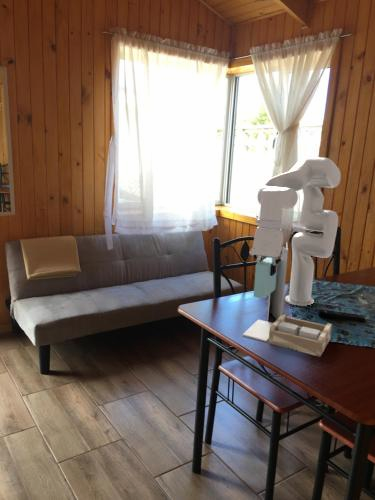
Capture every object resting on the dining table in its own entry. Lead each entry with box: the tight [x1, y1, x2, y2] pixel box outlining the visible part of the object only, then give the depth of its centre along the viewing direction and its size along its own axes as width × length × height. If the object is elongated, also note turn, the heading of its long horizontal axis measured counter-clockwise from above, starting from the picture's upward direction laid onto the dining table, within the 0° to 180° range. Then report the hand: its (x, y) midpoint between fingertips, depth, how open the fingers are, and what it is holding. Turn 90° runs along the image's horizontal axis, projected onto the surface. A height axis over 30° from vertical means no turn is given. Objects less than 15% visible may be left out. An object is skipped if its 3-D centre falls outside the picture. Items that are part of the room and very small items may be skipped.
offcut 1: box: [278, 322, 298, 336], centre depth 147 cm, size 4×6×6 cm, turn 60°
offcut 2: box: [299, 326, 320, 340], centre depth 143 cm, size 4×6×6 cm, turn 60°
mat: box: [242, 319, 274, 343], centre depth 156 cm, size 16×9×1 cm, turn 150°
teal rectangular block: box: [253, 257, 277, 300], centre depth 151 cm, size 4×12×12 cm, turn 150°
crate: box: [267, 312, 333, 358], centre depth 148 cm, size 16×18×6 cm
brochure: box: [266, 241, 289, 322], centre depth 166 cm, size 14×6×30 cm, turn 168°
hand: (266, 273), depth 151 cm, fingers closed on teal rectangular block, 4 cm apart
